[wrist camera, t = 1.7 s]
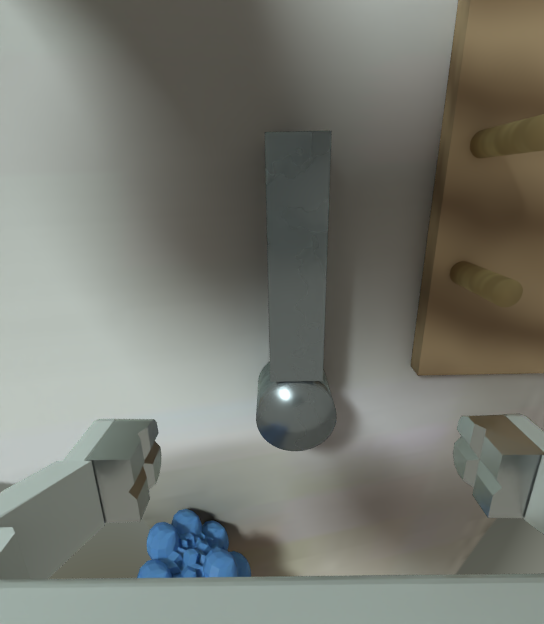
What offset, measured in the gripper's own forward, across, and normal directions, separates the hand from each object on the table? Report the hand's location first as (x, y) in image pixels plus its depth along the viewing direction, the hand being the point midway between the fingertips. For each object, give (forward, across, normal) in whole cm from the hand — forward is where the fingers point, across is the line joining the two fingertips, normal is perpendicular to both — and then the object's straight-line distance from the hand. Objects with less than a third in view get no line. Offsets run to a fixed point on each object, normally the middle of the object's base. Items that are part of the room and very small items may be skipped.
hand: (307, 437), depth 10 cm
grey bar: (+17, -1, +1) cm, 17 cm away
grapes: (+18, +6, +23) cm, 30 cm away
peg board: (+17, -16, -5) cm, 24 cm away
